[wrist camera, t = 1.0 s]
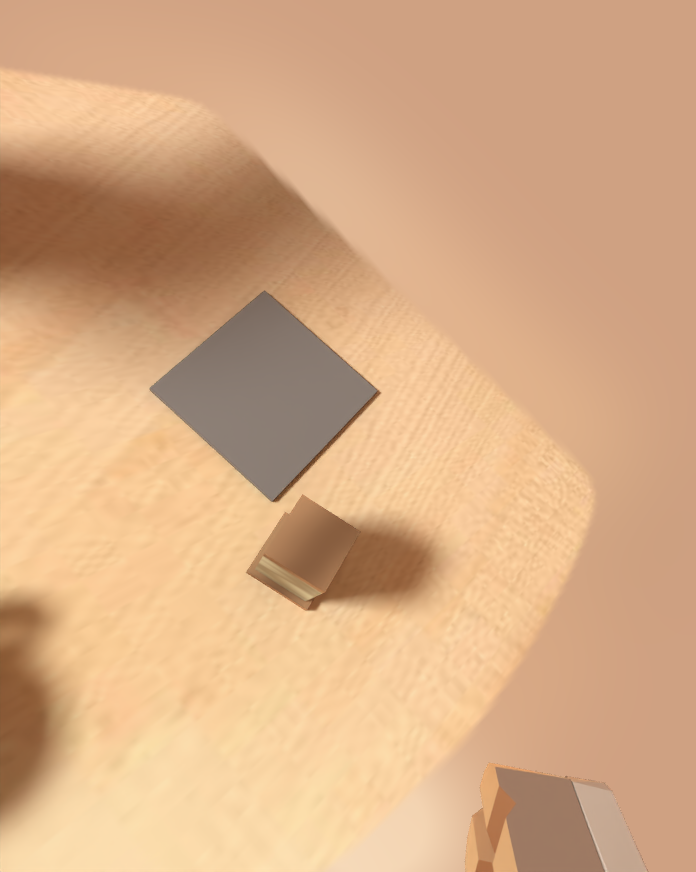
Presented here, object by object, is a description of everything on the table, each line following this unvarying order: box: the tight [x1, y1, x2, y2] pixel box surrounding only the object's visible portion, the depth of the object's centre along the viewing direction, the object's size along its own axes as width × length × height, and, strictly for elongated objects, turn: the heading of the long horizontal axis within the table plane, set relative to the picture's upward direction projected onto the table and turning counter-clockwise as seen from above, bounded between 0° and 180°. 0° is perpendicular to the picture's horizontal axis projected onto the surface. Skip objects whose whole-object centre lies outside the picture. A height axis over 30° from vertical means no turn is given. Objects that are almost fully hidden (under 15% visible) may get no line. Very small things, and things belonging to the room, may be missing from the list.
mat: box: [150, 290, 377, 502], centre depth 46 cm, size 12×12×1 cm
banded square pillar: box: [246, 494, 360, 611], centre depth 38 cm, size 5×5×8 cm
